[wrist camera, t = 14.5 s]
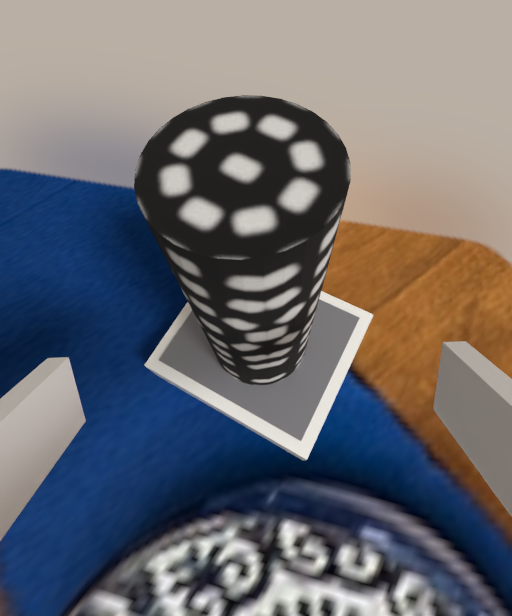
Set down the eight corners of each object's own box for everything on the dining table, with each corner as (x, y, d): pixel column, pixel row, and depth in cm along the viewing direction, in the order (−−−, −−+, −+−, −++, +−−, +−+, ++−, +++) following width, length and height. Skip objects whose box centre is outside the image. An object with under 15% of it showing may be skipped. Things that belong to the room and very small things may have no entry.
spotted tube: (323, 326, 32) (388, 140, 14) (274, 405, 30) (274, 302, 11) (247, 282, 34) (218, 73, 16) (195, 352, 32) (89, 195, 14)
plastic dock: (156, 375, 35) (142, 364, 32) (229, 266, 40) (224, 245, 36) (303, 460, 31) (307, 459, 28) (364, 329, 36) (374, 313, 32)
